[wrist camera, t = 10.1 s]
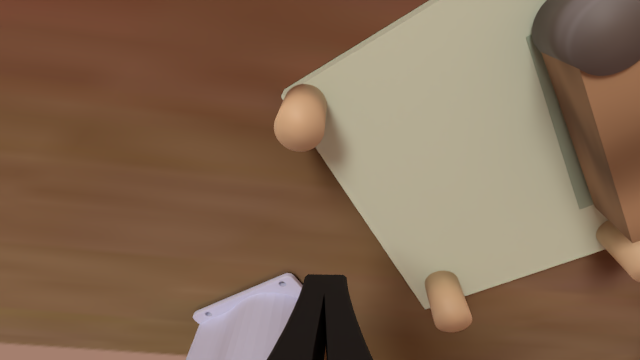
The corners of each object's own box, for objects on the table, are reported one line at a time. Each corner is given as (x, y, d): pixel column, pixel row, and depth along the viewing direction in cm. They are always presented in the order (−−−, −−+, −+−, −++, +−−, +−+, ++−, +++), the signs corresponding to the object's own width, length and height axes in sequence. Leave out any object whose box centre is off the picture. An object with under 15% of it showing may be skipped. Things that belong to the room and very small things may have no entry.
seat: (418, 297, 27) (430, 349, 23) (278, 90, 19) (264, 120, 15) (634, 222, 22) (690, 272, 19) (564, -86, 15) (636, -101, 11)
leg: (522, 12, 15) (563, 22, 12) (594, -31, 14) (654, -29, 11) (592, 208, 20) (632, 247, 17) (648, 185, 19) (700, 223, 16)
